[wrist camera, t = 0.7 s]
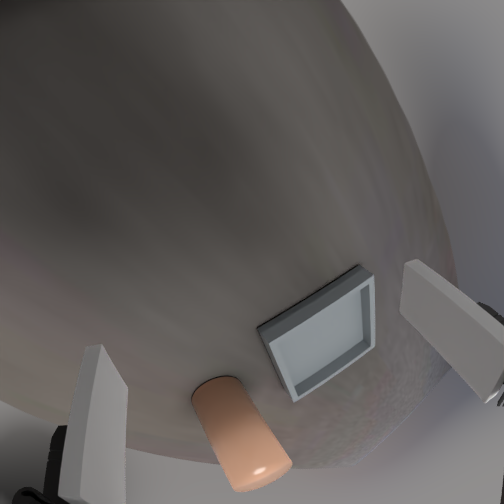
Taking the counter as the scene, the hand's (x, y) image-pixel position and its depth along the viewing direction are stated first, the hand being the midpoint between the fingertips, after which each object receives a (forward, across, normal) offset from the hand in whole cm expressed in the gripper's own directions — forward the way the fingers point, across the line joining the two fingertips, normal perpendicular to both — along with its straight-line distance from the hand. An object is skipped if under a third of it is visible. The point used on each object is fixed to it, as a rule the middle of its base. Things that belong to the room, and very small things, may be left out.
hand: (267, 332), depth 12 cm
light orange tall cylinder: (+15, -5, -21) cm, 26 cm away
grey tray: (+18, +9, -18) cm, 27 cm away
